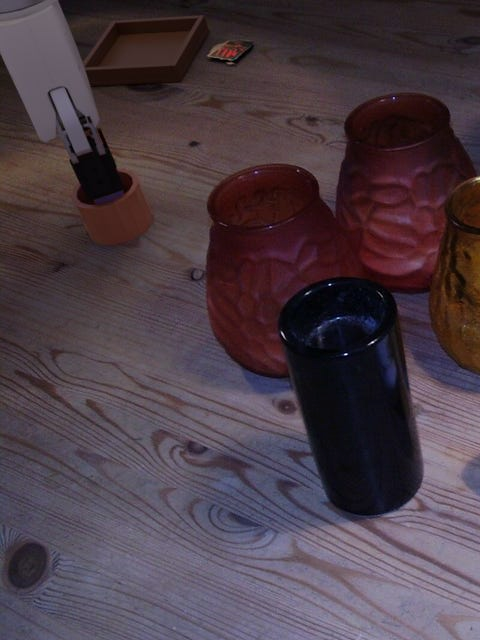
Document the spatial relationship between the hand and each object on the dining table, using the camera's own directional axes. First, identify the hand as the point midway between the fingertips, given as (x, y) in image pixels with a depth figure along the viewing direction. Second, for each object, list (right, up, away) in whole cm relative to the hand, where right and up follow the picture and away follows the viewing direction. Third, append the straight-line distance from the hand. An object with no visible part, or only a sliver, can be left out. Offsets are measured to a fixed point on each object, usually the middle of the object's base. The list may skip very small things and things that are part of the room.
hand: (102, 182), depth 87 cm
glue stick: (+1, -3, +3) cm, 5 cm away
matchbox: (+5, +19, +25) cm, 32 cm away
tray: (-5, +19, +26) cm, 32 cm away
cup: (+1, -4, +4) cm, 5 cm away
